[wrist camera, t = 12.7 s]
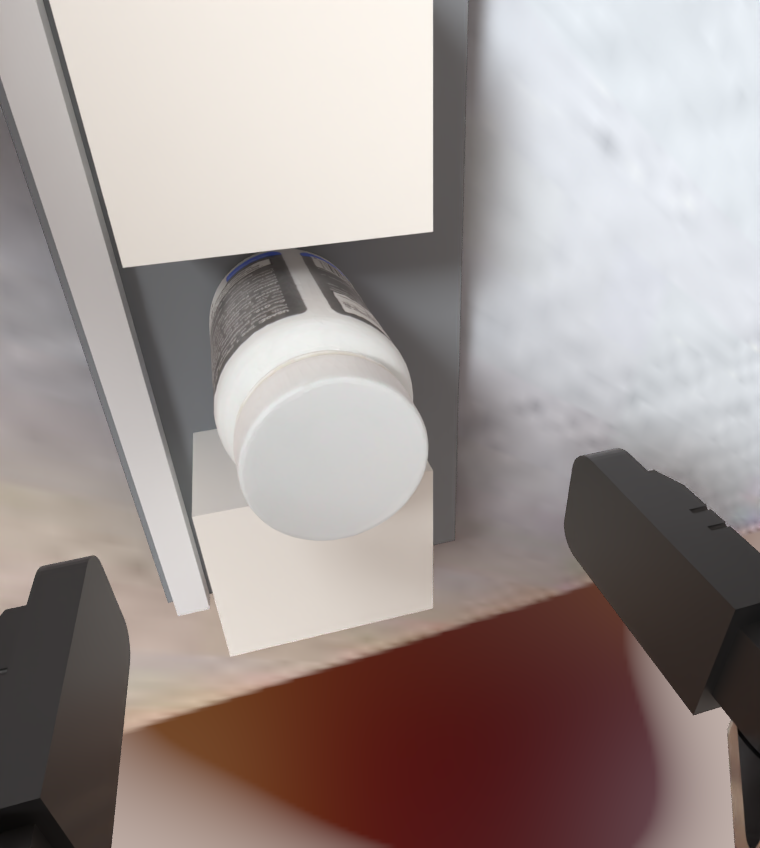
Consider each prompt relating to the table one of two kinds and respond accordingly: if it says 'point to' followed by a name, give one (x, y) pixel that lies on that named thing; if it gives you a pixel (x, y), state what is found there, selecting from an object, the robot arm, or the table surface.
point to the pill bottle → (311, 398)
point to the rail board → (248, 254)
